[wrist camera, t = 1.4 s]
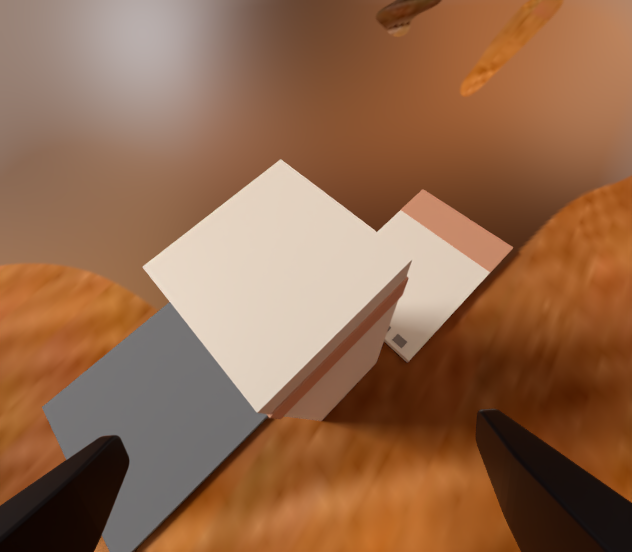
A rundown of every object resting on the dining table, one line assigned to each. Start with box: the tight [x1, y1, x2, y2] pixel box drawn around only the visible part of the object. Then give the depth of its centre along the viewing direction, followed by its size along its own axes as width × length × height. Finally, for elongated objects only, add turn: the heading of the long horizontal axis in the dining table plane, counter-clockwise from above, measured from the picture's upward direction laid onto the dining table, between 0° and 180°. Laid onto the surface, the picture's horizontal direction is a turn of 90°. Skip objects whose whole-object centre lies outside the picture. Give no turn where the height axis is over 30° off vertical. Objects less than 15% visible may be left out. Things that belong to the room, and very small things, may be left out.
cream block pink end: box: [377, 190, 513, 363], centre depth 21 cm, size 10×7×1 cm
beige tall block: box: [143, 160, 412, 421], centre depth 13 cm, size 5×5×13 cm
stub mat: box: [42, 302, 268, 552], centre depth 19 cm, size 10×10×1 cm
